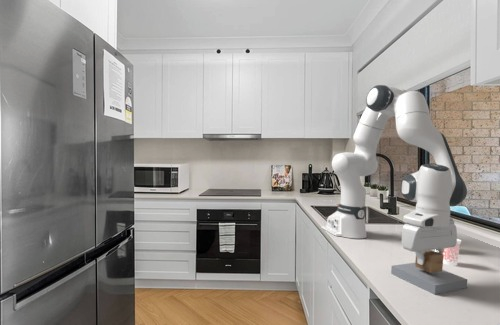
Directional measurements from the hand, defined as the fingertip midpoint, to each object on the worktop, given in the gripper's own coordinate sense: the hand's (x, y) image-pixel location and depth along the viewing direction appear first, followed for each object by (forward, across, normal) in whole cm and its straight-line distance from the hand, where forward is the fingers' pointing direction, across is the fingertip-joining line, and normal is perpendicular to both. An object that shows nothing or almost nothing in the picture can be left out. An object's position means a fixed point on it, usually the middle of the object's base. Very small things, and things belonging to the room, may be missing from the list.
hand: (428, 263), depth 85 cm
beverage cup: (+6, -23, -8) cm, 25 cm away
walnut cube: (+2, 0, 0) cm, 2 cm away
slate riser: (+5, 0, 0) cm, 5 cm away
